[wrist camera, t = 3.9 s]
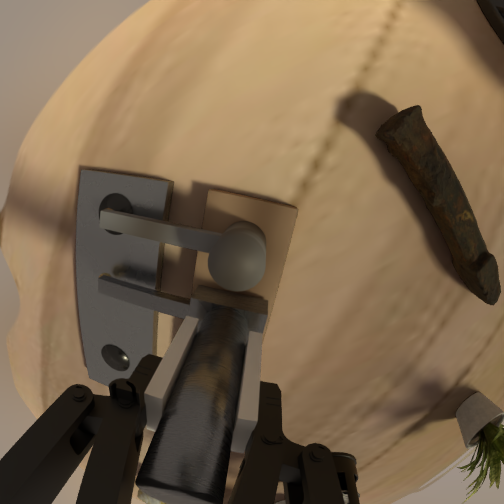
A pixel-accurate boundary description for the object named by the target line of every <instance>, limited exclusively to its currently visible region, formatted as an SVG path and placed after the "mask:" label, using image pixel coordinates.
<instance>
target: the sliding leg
mask: <svg viewBox="0 0 504 504" xmlns="http://www.w3.org/2000/svg"><path fill="white" fill-rule="evenodd" d="M98 293H101V294H104V295H107V296H110V297H113V298H116V299H119V300H122V301H125V302H128V303H131V304H134V305H138V306H141V307H144V308H147V309H151V310H154V311H158V312H161V313H164V314H168V315H172V316H175V317H179V318H183V319H185V317H186V316H190V317H194V318H198V319H199V321H198V328H197V334H196V337H195V339H194V341H193V344H192V346H191V348H190V350H189V353H188V355H187V357H186V360H185V362H184V364H183V367H182V369H181V371H180V374H179V376H178V378H177V381H176V383H175V386H174V388H173V390H172V393H171V395H170V397H169V400H168V402H167V405H166V407H165V409H164V412H163V414H162V417H161V419H160V421H159V424H158V426H157V429H156V431H155V434H154V436H153V438H152V441H151V443H150V446H149V448H148V451H147V453H146V456H145V458H144V461H143V463H142V466H141V468H140V471H139V473H138V476H137V478H136V481H135V483H136V485H137V487H138V488H139V489H140V490H142V491H143V492H144V493H146V494H147V495H149V496H151V497H153V498H155V499H157V500H159V501H161V502H164V503H166V504H223V498H224V492H225V485H226V478H227V472H228V465H229V458H230V451H231V445H232V438H233V430H234V424H235V417H236V410H237V403H238V396H239V389H240V382H241V375H242V368H243V361H244V354H245V347H246V343H247V339H248V336H249V332H250V331H253V332H258V333H263V331H264V328H265V324H266V321H267V317H268V300H265V299H260V298H255V297H251V296H246V295H242V294H237V293H233V292H228V291H224V290H220V289H216V288H211V287H207V286H203V285H198V287H197V288H196V290H195V292H194V293H193V295H192V297H191V299H187V298H183V297H179V296H175V295H172V294H168V293H164V292H161V291H157V290H153V289H150V288H146V287H143V286H139V285H136V284H132V283H129V282H126V281H122V280H119V279H116V278H113V277H111V275H110V274H109V273H102V274H100V276H99V278H98Z"/></svg>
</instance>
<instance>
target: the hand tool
mask: <svg viewBox="0 0 504 504" xmlns="http://www.w3.org/2000/svg"><path fill="white" fill-rule="evenodd" d="M375 136H376V137H377V138H378V139H380V140H383V141H385V142H386V143H387V146H388V151H389V152H390V153H391V154H392V155H393V156H394V157H397V159H398V160H399V161H400V163H401V164H402V165H403V167H404V169H405V170H406V172H407V174H408V176H409V178H410V180H411V181H412V182H413V184H414V186H415V187H416V188H417V190H418V191H419V192H420V194H421V195H422V197H423V199H424V201H425V203H426V207H427V208H428V209H429V210H430V212H431V214H432V215H433V217H434V219H435V221H436V223H437V225H438V226H439V228H440V230H441V232H442V234H443V236H444V239H445V241H446V243H447V245H448V247H449V249H450V252H451V254H452V256H453V259H452V263H453V265H454V267H455V269H456V271H457V272H458V274H459V276H460V277H461V279H462V280H463V281H464V283H465V284H466V285H467V287H468V288H469V289H470V290H471V291H472V292H473V294H475V295H476V296H477V297H478V298H480V299H481V300H482V301H484V302H485V303H487V304H490V305H494V304H495V303H496V302H497V301H498V298H499V295H500V293H501V286H500V282H499V274H498V266H497V262H496V259H495V257H494V256H493V255H492V254H490V253H489V252H488V250H487V248H486V244H485V242H484V240H483V238H482V235H481V233H480V230H479V228H478V225H477V221H476V219H475V216H474V214H473V211H472V209H471V206H470V204H469V202H468V199H467V197H466V195H465V193H464V191H463V188H462V186H461V184H460V182H459V180H458V179H457V176H456V174H455V172H454V171H453V169H452V166H451V165H450V163H449V161H448V159H447V157H446V156H445V154H444V153H443V151H442V149H441V148H440V146H439V145H438V143H437V141H436V139H435V138H434V136H433V135H432V132H431V131H430V129H429V128H428V127H427V125H426V123H425V121H424V118H423V116H422V109H421V106H419V105H416V106H413V107H410V108H407V109H405V110H402V111H401V112H399V113H397V114H396V115H394V116H393V117H391V118H390V119H389V120H387V121H386V122H385V123H384V124H383V125H381V128H380V129H379V130H378V132H377V133H376V134H375Z"/></svg>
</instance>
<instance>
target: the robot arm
mask: <svg viewBox="0 0 504 504" xmlns="http://www.w3.org/2000/svg"><path fill="white" fill-rule="evenodd" d="M477 1H478V3H479V5H480V7H481V9H482V11H483V13H484V14H485V16H486V18H487V19H488V21H489V22H490V24H491V26H492V27H493V29H494V30H495V32H496V33H497V34H498V36H499V37H500V39H501V40H502V42H503V43H504V0H477ZM198 321H199V319H198V318H194V317H190V316H186V317H185V319H184V321H183V322H182V324H181V326H180V328H179V330H178V331H177V333H176V335H175V337H174V339H173V340H172V342H171V344H170V346H169V348H168V350H167V351H166V353H165V355H164V357H163V358H161V357H158V356H155V355H152V354H148V355H146V356H145V357H143V358H142V359H141V360H140V362H139V363H138V365H137V366H136V368H135V370H134V371H133V373H132V374H131V376H130V377H129V379H125V378H119V379H115V380H113V381H111V383H110V384H109V385H108V386H109V391H110V396H102V395H96V394H93V393H92V391H91V389H89V388H88V387H87V386H84V385H80V384H76V385H72V386H70V387H69V388H67V389H66V390H65V392H64V393H63V394H62V395H61V396H60V397H59V398H58V399H57V400H56V401H55V402H54V403H53V404H52V405H51V406H50V407H49V408H48V409H47V410H46V411H45V412H44V413H43V414H42V415H41V416H40V417H39V418H38V420H37V421H36V422H35V423H34V424H33V425H32V426H31V427H30V428H29V429H28V430H27V431H26V432H25V433H24V434H23V436H22V437H21V438H20V439H19V440H18V441H17V442H16V443H15V445H14V446H13V447H12V448H11V449H10V450H9V451H8V452H7V453H6V454H5V456H4V457H3V458H2V459H1V460H0V504H52V502H53V501H54V499H55V498H56V496H57V495H58V494H59V492H60V490H61V489H62V488H63V486H64V485H65V483H66V482H67V481H68V479H69V478H70V477H71V475H72V474H73V472H74V471H75V469H76V468H77V467H78V465H79V464H80V462H81V461H82V460H83V458H84V457H85V455H86V454H87V453H88V451H89V450H90V448H91V447H92V446H93V448H92V451H91V454H90V457H89V460H88V463H87V466H86V469H85V473H84V476H83V479H82V483H81V486H80V490H79V493H78V497H77V501H76V504H131V499H132V493H133V487H134V481H135V476H136V471H137V465H138V460H139V455H140V450H141V446H142V441H143V430H144V428H145V426H146V425H147V429H148V430H151V431H154V432H155V431H156V429H157V426H158V424H159V421H160V419H161V417H162V414H163V412H164V409H165V407H166V405H167V402H168V400H169V397H170V395H171V393H172V390H173V388H174V386H175V383H176V381H177V378H178V376H179V374H180V371H181V369H182V367H183V364H184V362H185V360H186V357H187V355H188V353H189V350H190V348H191V346H192V344H193V341H194V339H195V337H196V334H197V328H198ZM262 336H263V333H258V332H253V331H250V332H249V336H248V339H247V343H246V347H245V354H244V361H243V368H242V375H241V382H240V389H239V396H238V403H237V410H236V417H235V424H234V430H233V438H232V445H231V451H233V452H239V453H244V452H245V457H244V459H243V461H242V463H241V466H240V470H239V473H238V476H237V479H236V482H235V485H234V488H233V491H232V494H231V497H230V500H229V503H228V504H274V500H275V495H276V491H277V486H278V481H279V480H280V481H283V485H284V494H285V503H286V504H345V502H344V498H343V494H342V490H341V486H340V482H339V479H338V475H337V471H336V467H335V464H334V460H333V456H332V453H331V451H330V450H329V449H328V448H327V447H326V446H324V445H322V444H317V443H313V444H309V445H307V446H306V447H304V446H301V445H299V444H296V443H293V442H291V441H290V440H288V439H287V438H286V437H285V435H284V433H283V431H282V407H281V390H280V389H279V387H278V385H277V384H274V383H268V382H262V381H260V373H261V355H262ZM93 444H94V445H93Z"/></svg>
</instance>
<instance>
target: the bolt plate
mask: <svg viewBox="0 0 504 504" xmlns="http://www.w3.org/2000/svg"><path fill="white" fill-rule="evenodd" d="M173 185H174V182H173V181H167V180H161V179H155V178H148V177H142V176H135V175H128V174H121V173H114V172H107V171H99V170H91V169H86V170H81V176H80V185H79V194H78V207H77V224H76V278H77V295H78V308H79V318H80V326H81V334H82V341H83V347H84V353H85V359H86V364H87V370H88V374H89V378H90V379H92V380H95V381H97V382H99V383H101V384H104V385H106V386H108V385H109V384H110V383H111V381H113V380H115V379H119V378H125V379H129V377H130V376H131V374H132V373H133V371H134V370H135V368H136V366H137V365H138V363H139V362H140V360H141V359H142V358H143V357H145V356H146V355H148V354H152V355H155V356H157V328H158V311H154V310H151V309H147V308H144V307H141V306H138V305H134V304H131V303H128V302H125V301H122V300H119V299H116V298H113V297H110V296H107V295H104V294H101V293H98V278H99V276H100V274H102V273H109V274H110V275H111V277H113V278H116V279H119V280H122V281H126V282H129V283H132V284H136V285H139V286H143V287H146V288H150V289H153V290H157V291H160V284H161V274H162V264H163V255H164V246H165V243H162V242H158V241H154V240H149V239H145V238H141V237H137V236H133V235H128V234H124V233H120V232H116V231H112V230H107V229H103V228H99V225H100V212H101V210H104V209H106V208H110V209H112V210H114V211H119V212H124V213H129V214H133V215H138V216H143V217H148V218H153V219H157V220H162V221H167V222H168V216H169V210H170V203H171V197H172V191H173ZM108 387H109V386H108Z"/></svg>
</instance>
